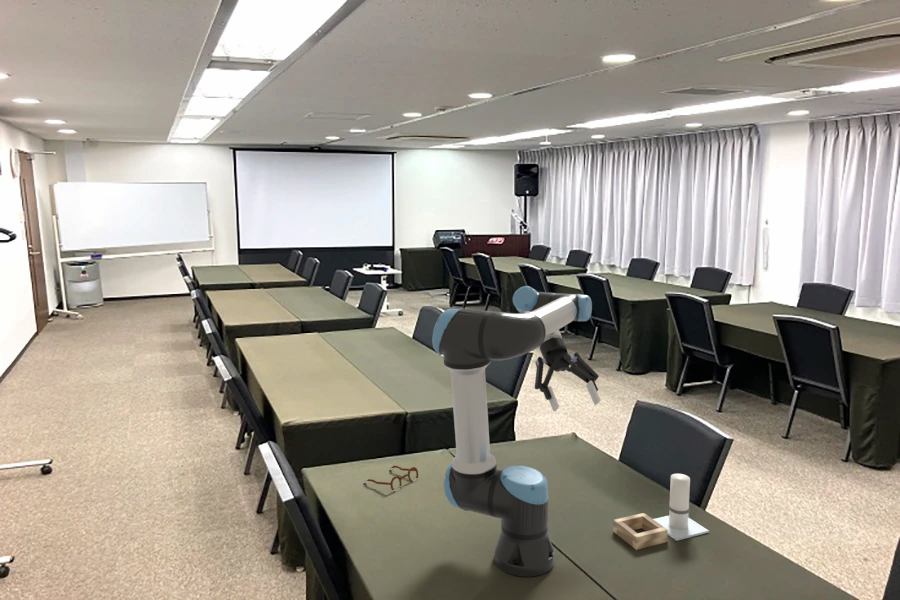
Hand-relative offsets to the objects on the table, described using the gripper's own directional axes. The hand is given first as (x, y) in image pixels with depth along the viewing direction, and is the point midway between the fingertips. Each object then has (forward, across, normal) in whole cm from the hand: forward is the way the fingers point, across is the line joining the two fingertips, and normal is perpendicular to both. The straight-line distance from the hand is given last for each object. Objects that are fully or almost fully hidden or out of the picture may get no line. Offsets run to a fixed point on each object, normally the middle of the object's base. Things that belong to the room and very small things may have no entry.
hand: (577, 405), depth 182 cm
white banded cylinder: (+35, -22, -10) cm, 43 cm away
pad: (+36, -22, -11) cm, 43 cm away
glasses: (-6, +43, -54) cm, 69 cm away
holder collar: (+36, -9, -11) cm, 38 cm away
